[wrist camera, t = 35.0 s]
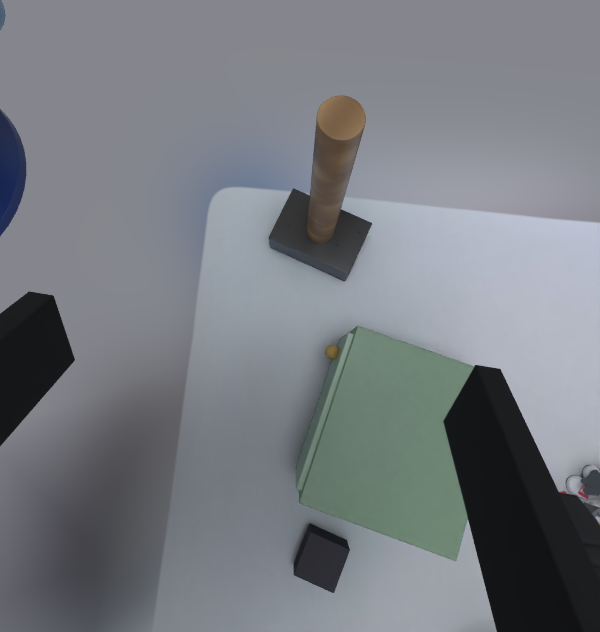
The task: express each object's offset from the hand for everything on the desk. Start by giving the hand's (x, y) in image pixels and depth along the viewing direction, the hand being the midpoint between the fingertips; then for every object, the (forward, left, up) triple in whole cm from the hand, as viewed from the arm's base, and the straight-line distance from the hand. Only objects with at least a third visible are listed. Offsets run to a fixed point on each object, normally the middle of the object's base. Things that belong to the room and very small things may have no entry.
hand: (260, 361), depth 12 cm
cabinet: (+11, -2, -27) cm, 29 cm away
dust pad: (+9, -16, -25) cm, 31 cm away
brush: (-1, +14, -27) cm, 31 cm away
